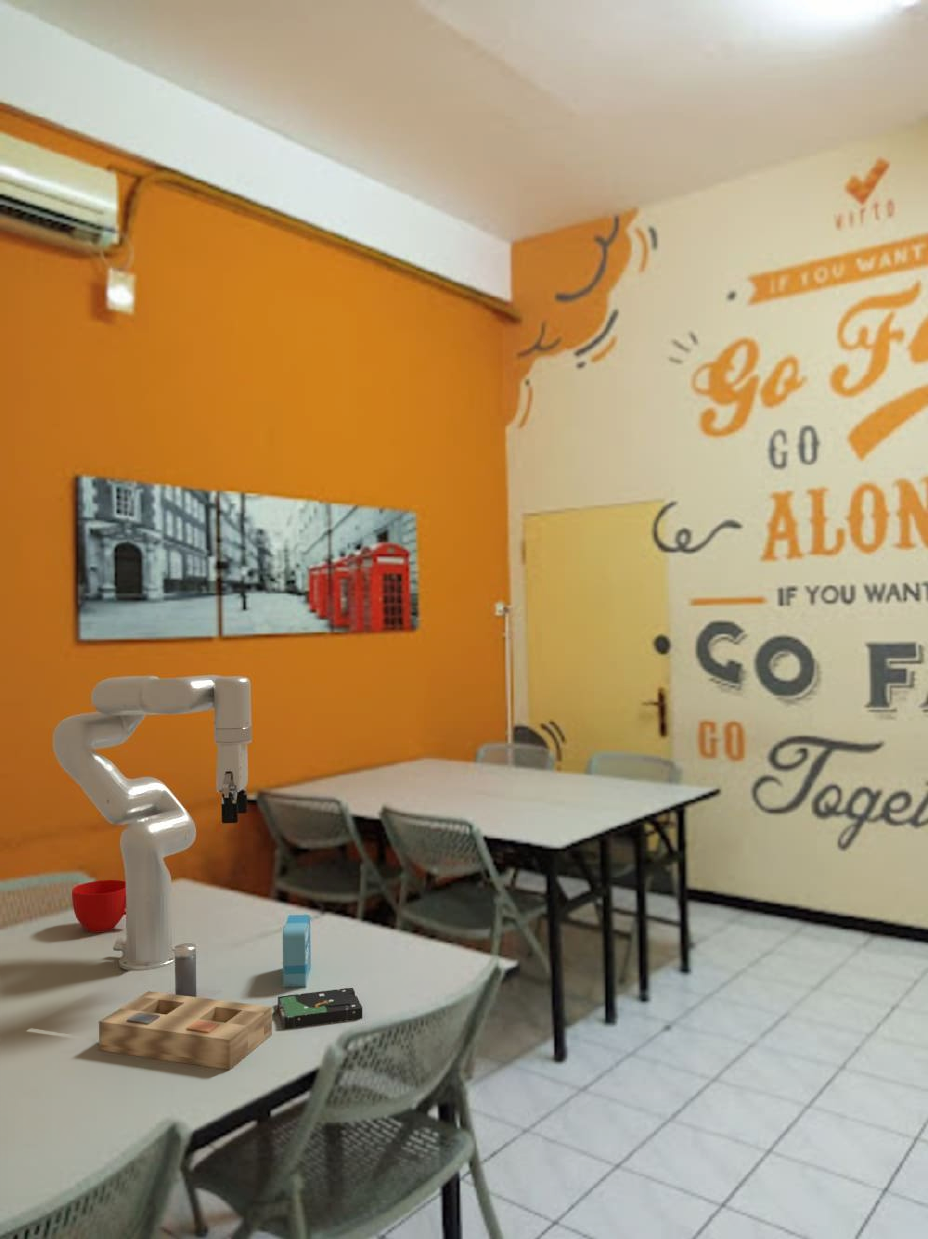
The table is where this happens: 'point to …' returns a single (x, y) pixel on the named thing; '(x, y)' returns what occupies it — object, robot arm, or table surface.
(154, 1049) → the socket block
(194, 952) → the plug
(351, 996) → the disk drive
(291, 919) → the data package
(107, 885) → the ceramic cup
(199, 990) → the rubber mat
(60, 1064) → the table surface
